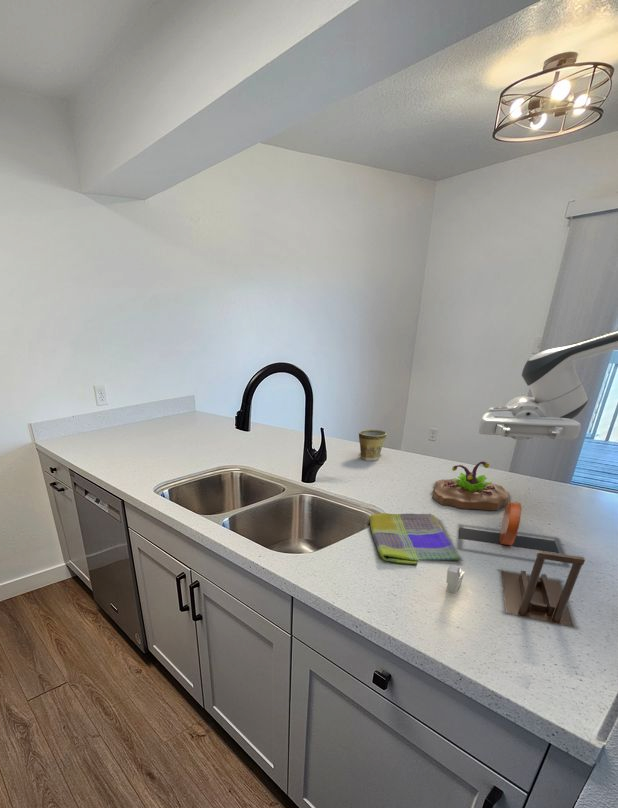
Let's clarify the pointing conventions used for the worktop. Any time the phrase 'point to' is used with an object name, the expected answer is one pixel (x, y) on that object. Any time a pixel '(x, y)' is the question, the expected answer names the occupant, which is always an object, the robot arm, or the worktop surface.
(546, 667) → the worktop surface
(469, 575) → the worktop surface
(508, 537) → the disc
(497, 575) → the worktop surface
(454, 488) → the plant
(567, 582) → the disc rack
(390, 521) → the dish towel
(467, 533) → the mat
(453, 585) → the lighter
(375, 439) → the ceramic cup
